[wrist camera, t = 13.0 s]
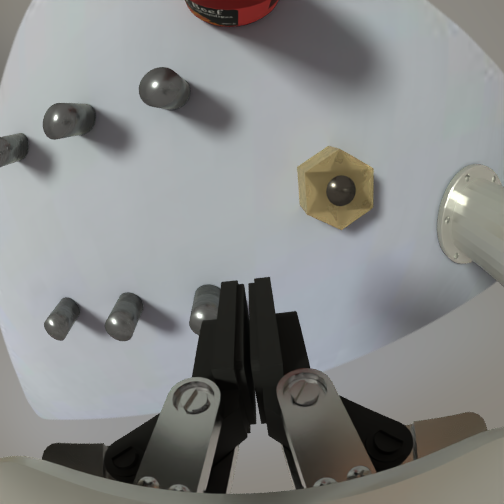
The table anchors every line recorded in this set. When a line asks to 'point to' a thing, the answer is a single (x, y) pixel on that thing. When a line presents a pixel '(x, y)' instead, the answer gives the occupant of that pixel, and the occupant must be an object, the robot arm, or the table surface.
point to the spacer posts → (81, 122)
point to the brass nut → (335, 187)
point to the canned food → (230, 11)
